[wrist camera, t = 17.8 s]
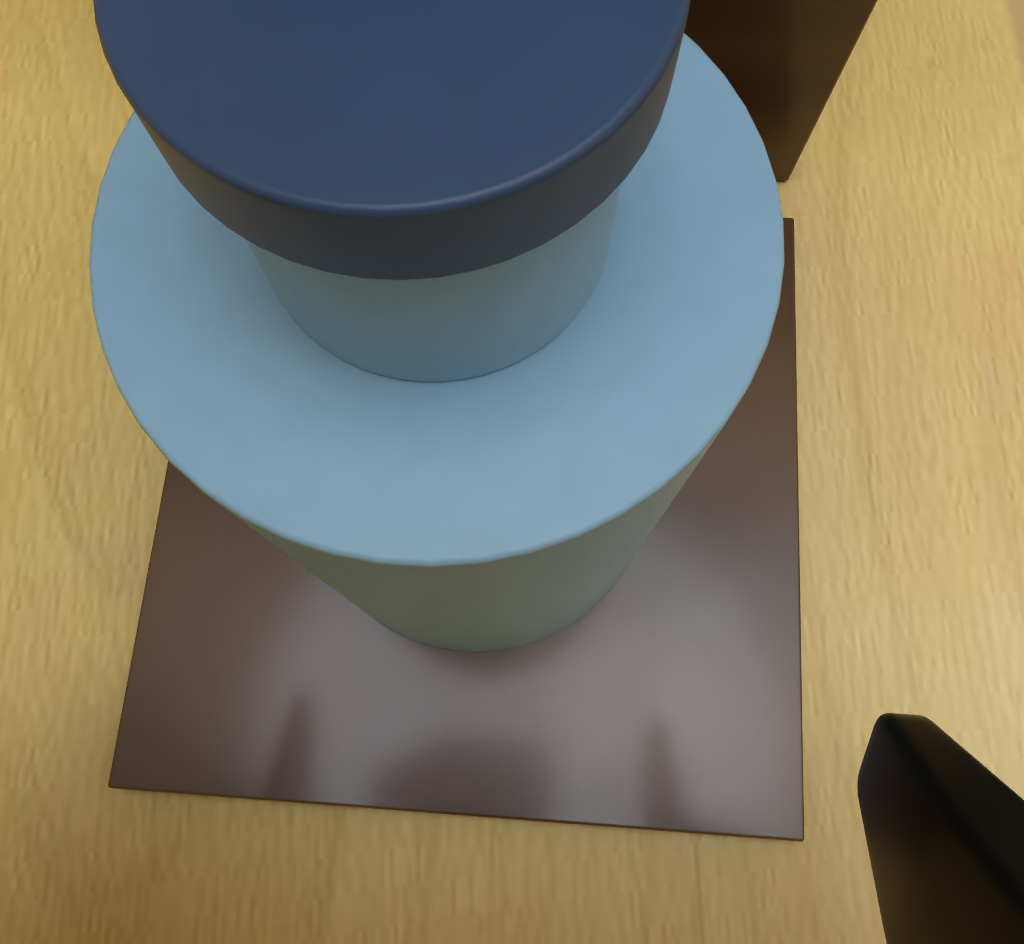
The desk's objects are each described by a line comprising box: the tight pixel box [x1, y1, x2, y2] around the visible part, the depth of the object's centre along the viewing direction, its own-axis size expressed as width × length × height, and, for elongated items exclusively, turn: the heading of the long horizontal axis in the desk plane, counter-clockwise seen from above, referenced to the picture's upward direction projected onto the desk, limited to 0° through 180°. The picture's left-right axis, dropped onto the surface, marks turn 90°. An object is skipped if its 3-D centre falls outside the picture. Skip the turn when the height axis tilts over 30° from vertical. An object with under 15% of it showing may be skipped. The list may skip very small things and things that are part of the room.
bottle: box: [89, 0, 784, 652], centre depth 11 cm, size 6×6×12 cm
